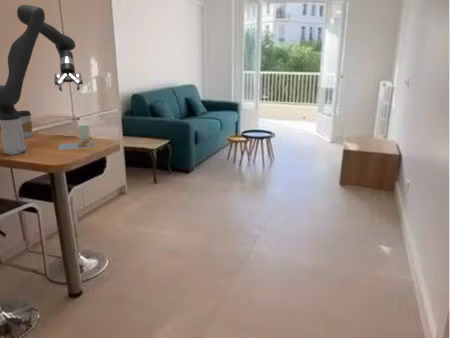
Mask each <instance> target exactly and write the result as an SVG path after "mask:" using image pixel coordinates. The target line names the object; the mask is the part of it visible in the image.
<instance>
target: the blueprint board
mask: <svg viewBox="0 0 450 338" xmlns="http://www.w3.org/2000/svg"><path fill="white" fill-rule="evenodd" d="M93 143H94V146H86V147H78V142H73V143H63V144H61V143H60V144H58V151H61V150H75V149H76V150H77V149H84V148H85V149H86V148H95V147H96V143H95V140H93Z"/></svg>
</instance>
